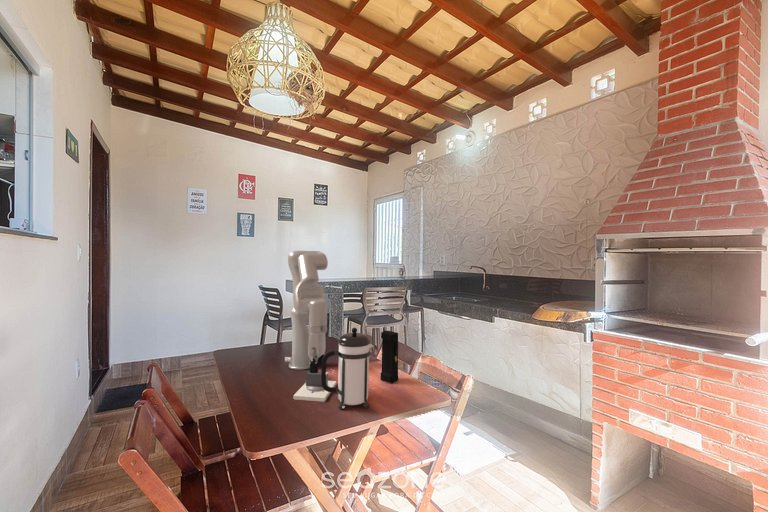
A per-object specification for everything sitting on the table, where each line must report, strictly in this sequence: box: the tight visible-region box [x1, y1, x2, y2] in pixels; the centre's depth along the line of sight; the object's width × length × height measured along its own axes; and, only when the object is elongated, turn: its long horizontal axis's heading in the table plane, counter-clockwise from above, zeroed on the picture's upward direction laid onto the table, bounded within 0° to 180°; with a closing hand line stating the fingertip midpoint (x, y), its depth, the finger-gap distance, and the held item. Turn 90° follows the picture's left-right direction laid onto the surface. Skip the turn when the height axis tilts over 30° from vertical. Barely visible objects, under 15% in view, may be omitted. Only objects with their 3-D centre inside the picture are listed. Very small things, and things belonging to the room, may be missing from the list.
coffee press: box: [321, 327, 374, 411], centre depth 134 cm, size 17×16×30 cm
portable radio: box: [380, 325, 399, 384], centre depth 159 cm, size 8×6×25 cm
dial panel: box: [292, 380, 337, 403], centre depth 145 cm, size 13×18×2 cm
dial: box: [305, 371, 329, 391], centre depth 146 cm, size 9×9×6 cm
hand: (317, 369), depth 146 cm, fingers open, 9 cm apart
